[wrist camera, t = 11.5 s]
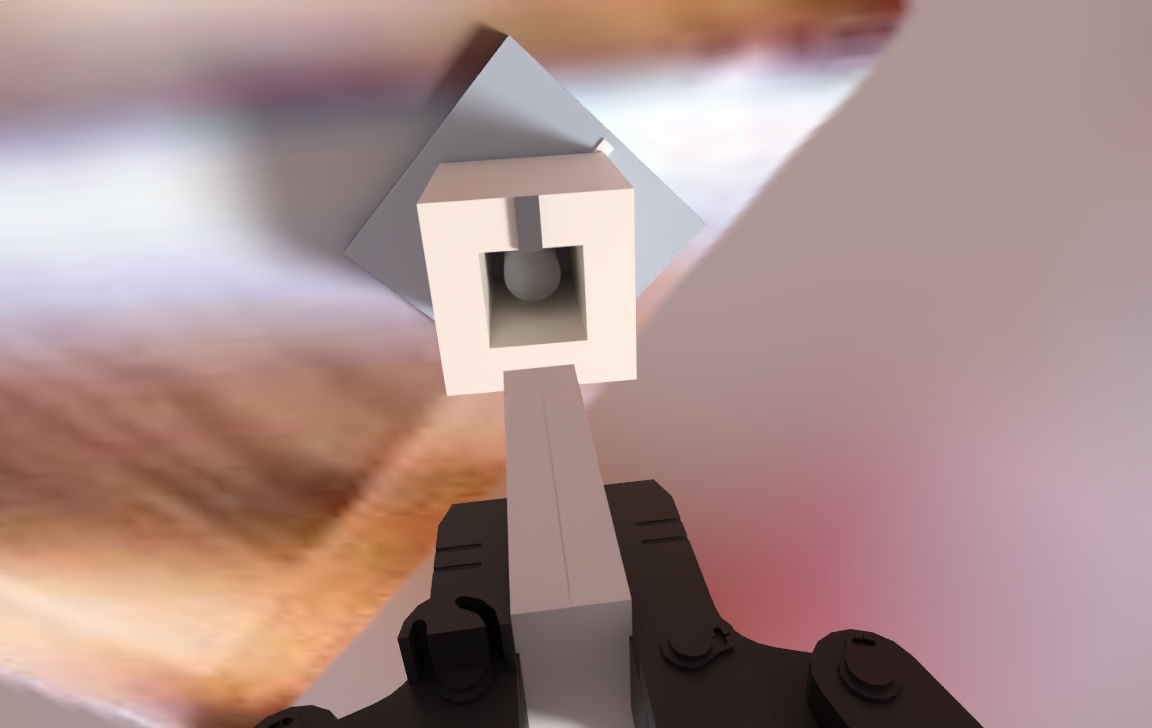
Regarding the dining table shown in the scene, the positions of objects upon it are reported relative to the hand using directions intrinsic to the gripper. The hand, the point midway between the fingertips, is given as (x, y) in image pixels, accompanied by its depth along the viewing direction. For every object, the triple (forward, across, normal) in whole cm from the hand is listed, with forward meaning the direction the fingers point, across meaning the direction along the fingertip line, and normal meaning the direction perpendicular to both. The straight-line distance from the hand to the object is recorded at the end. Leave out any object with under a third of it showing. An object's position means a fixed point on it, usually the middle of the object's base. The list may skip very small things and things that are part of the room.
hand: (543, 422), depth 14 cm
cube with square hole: (+18, 0, -1) cm, 18 cm away
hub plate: (+19, 0, -1) cm, 19 cm away
